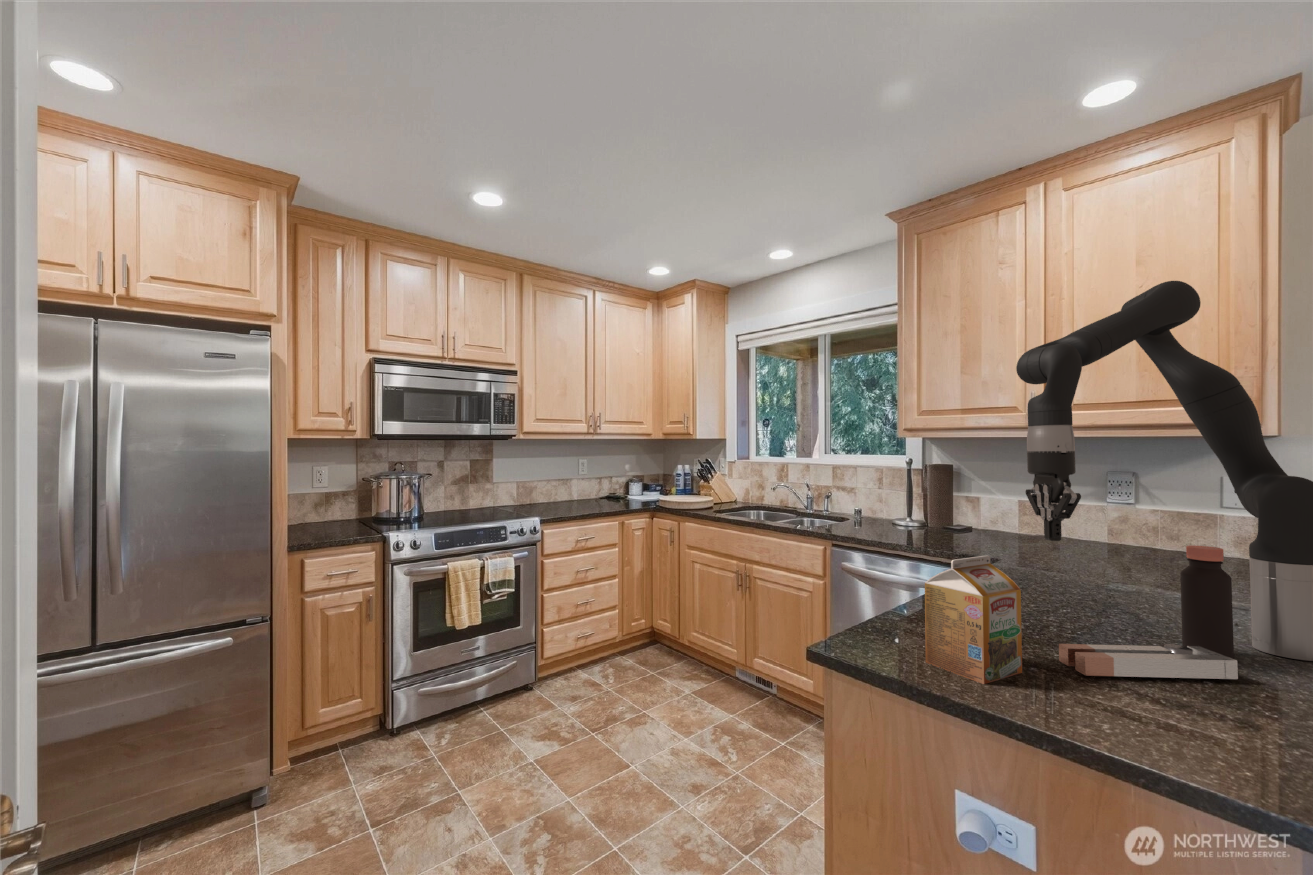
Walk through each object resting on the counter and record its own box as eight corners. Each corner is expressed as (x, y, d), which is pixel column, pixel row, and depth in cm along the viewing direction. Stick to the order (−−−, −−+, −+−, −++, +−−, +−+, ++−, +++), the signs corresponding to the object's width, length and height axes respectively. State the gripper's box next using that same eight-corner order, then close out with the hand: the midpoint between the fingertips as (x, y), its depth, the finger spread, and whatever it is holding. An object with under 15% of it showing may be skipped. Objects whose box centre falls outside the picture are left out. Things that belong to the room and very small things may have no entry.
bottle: (1219, 652, 104) (1216, 545, 105) (1244, 665, 98) (1240, 551, 98) (1174, 648, 106) (1171, 543, 107) (1195, 660, 100) (1192, 549, 101)
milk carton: (984, 684, 89) (982, 565, 90) (925, 662, 99) (924, 555, 99) (1022, 672, 94) (1020, 560, 95) (963, 653, 104) (961, 550, 104)
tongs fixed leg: (1199, 663, 97) (1198, 646, 97) (1237, 679, 90) (1237, 660, 90) (1058, 660, 98) (1057, 643, 98) (1085, 675, 91) (1085, 657, 92)
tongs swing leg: (1180, 663, 97) (1179, 644, 97) (1199, 671, 94) (1198, 651, 94) (1056, 660, 99) (1056, 641, 99) (1070, 668, 95) (1070, 648, 95)
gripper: (1010, 450, 113) (1012, 535, 113) (1053, 449, 100) (1055, 545, 99) (1048, 450, 113) (1050, 535, 112) (1096, 449, 100) (1099, 546, 99)
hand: (1052, 540), depth 106 cm, fingers closed
